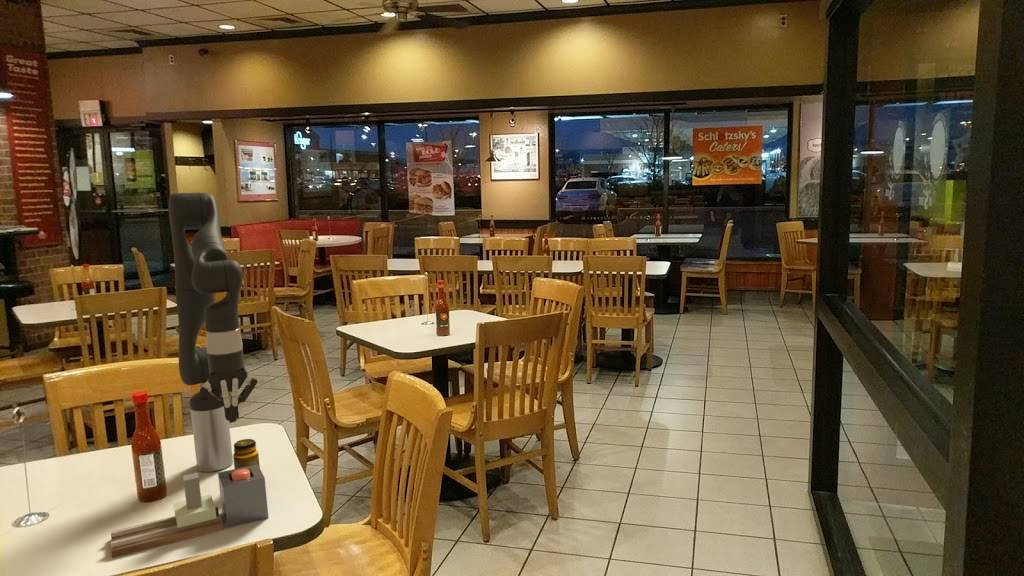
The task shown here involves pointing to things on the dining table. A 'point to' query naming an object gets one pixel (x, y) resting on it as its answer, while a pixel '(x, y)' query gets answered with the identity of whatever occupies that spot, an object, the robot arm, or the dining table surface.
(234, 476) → the plunger
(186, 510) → the carriage
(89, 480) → the dining table surface
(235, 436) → the dining table surface
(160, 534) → the rail track
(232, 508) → the cabinet
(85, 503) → the dining table surface
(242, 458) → the condiment
